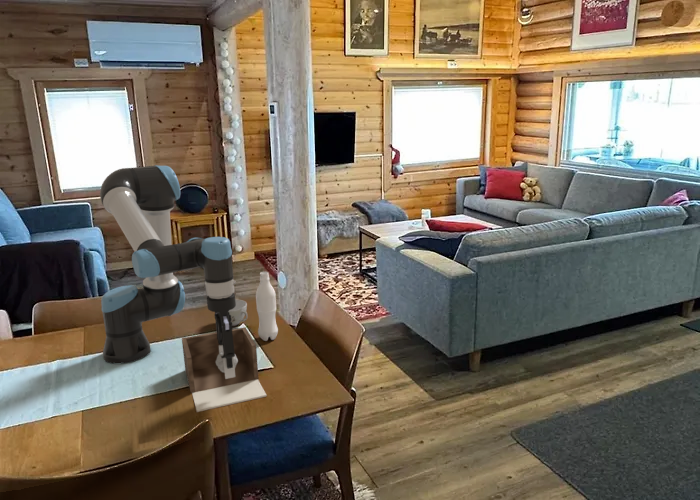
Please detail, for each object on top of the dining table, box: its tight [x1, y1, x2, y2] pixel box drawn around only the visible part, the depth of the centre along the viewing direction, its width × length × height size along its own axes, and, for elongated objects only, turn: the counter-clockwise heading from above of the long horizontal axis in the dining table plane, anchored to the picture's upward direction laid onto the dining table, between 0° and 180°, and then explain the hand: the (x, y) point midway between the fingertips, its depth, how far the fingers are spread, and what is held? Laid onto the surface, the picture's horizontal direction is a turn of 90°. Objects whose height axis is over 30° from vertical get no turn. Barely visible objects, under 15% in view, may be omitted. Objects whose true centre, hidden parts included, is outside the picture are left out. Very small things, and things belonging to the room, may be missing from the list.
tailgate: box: [191, 379, 268, 413], centre depth 153 cm, size 19×2×11 cm
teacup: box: [228, 298, 248, 327], centre depth 207 cm, size 15×12×8 cm
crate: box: [181, 327, 259, 394], centre depth 164 cm, size 20×15×12 cm
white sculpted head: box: [216, 351, 238, 373], centre depth 149 cm, size 6×7×7 cm
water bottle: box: [255, 271, 279, 342], centre depth 192 cm, size 7×7×25 cm
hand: (227, 371), depth 150 cm, fingers closed on white sculpted head, 7 cm apart
